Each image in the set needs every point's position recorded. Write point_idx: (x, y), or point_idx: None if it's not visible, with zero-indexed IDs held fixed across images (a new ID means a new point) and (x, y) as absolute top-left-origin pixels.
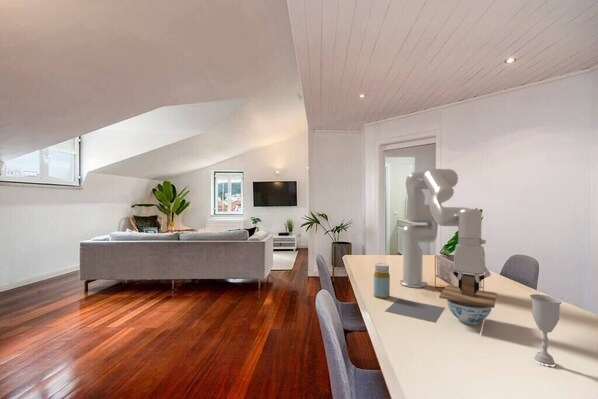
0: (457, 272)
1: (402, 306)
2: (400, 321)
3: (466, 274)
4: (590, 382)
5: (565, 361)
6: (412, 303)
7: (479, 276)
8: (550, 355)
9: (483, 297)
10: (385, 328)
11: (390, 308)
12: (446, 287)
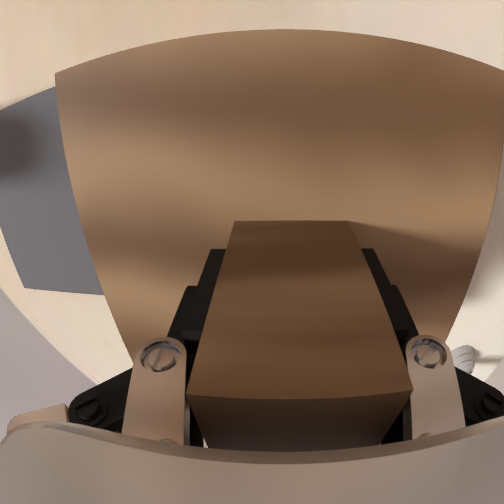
0: (114, 428)
1: (17, 204)
2: (92, 329)
3: (253, 421)
4: (488, 375)
5: (499, 329)
6: (18, 135)
7: (450, 406)
8: (472, 369)
9: (404, 288)
10: (104, 378)
11: (15, 253)
12: (73, 169)
